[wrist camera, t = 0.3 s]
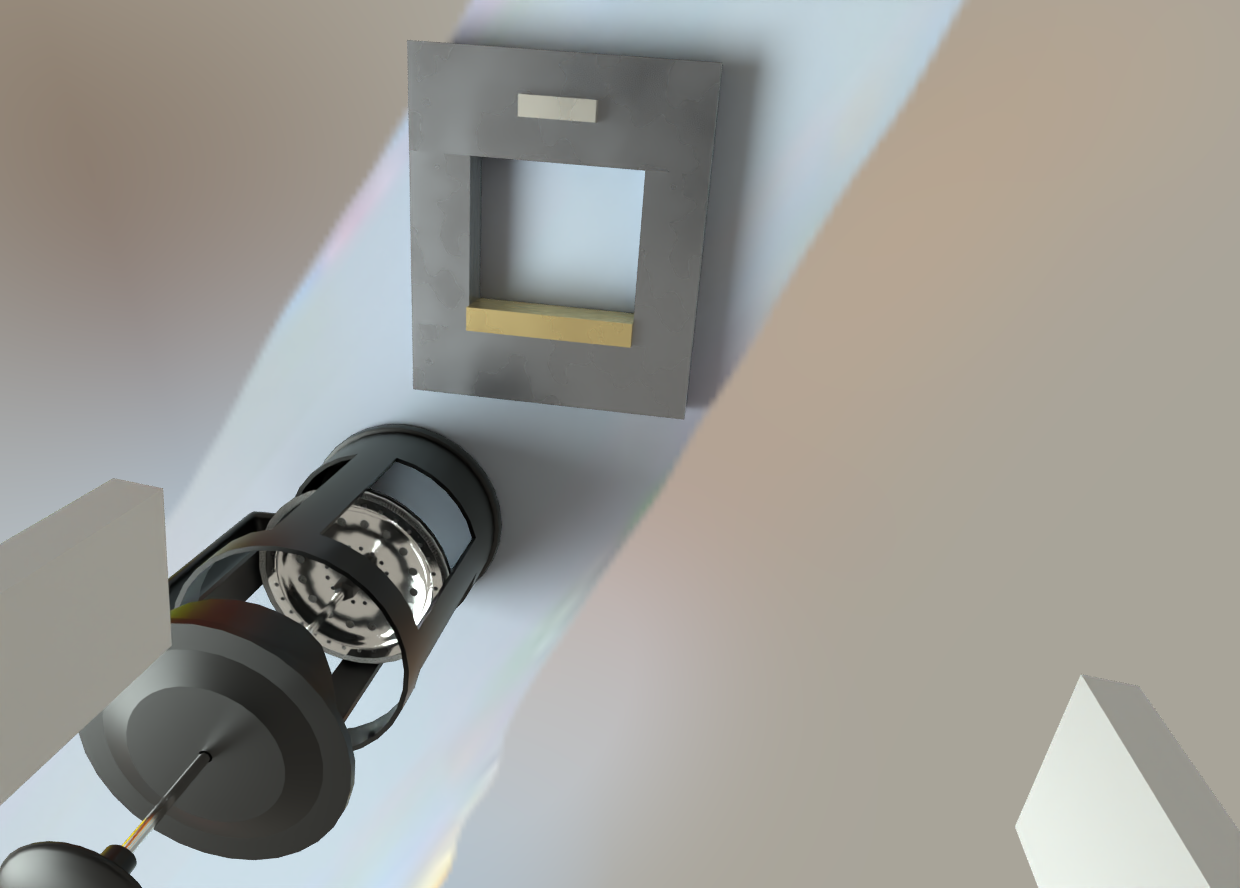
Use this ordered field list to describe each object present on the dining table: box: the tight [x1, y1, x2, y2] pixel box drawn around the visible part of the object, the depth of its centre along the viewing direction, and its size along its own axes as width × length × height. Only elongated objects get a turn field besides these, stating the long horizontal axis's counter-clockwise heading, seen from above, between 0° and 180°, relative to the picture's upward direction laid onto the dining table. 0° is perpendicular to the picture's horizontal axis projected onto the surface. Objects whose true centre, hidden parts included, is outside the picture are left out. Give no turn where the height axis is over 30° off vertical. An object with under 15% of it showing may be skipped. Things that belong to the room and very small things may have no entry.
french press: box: [0, 425, 502, 888], centre depth 31 cm, size 12×9×23 cm
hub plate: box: [407, 40, 723, 419], centre depth 35 cm, size 14×12×2 cm
